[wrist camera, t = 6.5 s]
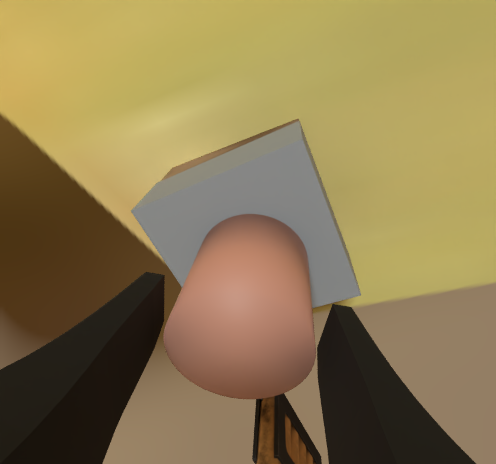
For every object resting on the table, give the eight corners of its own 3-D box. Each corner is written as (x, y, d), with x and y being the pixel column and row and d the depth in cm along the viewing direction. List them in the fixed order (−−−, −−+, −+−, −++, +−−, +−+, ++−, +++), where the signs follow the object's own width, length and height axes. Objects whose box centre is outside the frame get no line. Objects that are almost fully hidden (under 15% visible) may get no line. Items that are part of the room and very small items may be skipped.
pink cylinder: (286, 198, 12) (284, 272, 8) (321, 290, 14) (334, 387, 10) (181, 233, 13) (135, 312, 9) (226, 313, 15) (204, 407, 11)
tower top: (299, 120, 13) (302, 139, 11) (349, 255, 16) (361, 295, 14) (157, 182, 15) (130, 210, 13) (223, 293, 18) (213, 334, 16)
